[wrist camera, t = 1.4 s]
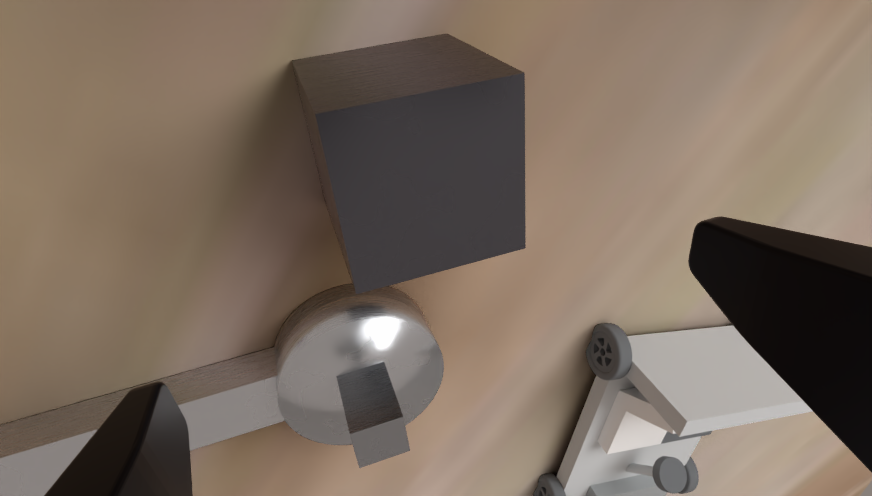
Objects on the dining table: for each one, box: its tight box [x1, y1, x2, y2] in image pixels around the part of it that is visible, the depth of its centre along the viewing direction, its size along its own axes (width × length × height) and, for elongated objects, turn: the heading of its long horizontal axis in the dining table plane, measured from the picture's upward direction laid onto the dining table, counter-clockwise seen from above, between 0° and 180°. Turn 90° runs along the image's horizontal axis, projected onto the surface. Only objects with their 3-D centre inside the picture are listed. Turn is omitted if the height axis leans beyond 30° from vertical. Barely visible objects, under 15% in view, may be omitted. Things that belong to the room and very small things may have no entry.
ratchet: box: [0, 284, 444, 496], centre depth 20 cm, size 28×7×6 cm, turn 96°
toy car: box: [533, 323, 812, 496], centre depth 31 cm, size 18×10×12 cm
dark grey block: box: [292, 34, 525, 294], centre depth 17 cm, size 5×5×6 cm
